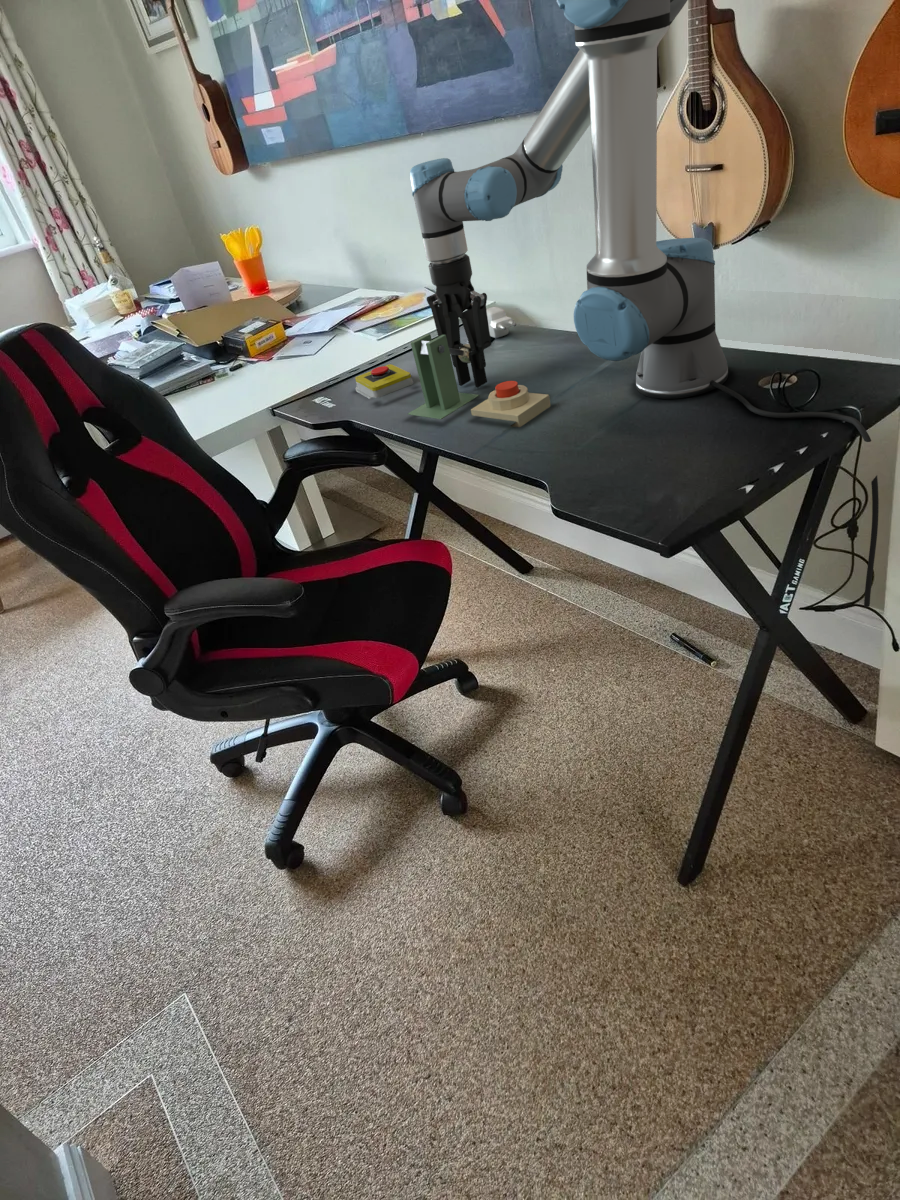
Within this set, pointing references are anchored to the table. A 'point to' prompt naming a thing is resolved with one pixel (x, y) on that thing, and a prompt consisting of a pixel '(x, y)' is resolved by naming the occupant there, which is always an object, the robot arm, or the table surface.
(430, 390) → the switch bracket
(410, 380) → the emergency button
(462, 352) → the lever switch
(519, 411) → the button console
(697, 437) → the table surface
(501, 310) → the power adapter
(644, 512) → the table surface
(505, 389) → the button
